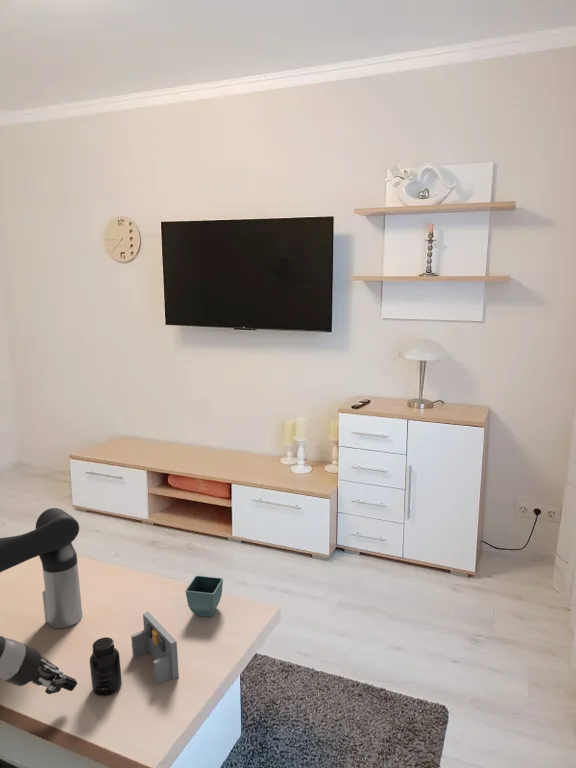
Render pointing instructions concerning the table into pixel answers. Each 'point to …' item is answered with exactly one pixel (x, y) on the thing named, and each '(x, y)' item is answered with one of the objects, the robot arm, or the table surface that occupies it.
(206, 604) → the flower pot
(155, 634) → the panel
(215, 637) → the table surface
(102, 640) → the supplement bottle
